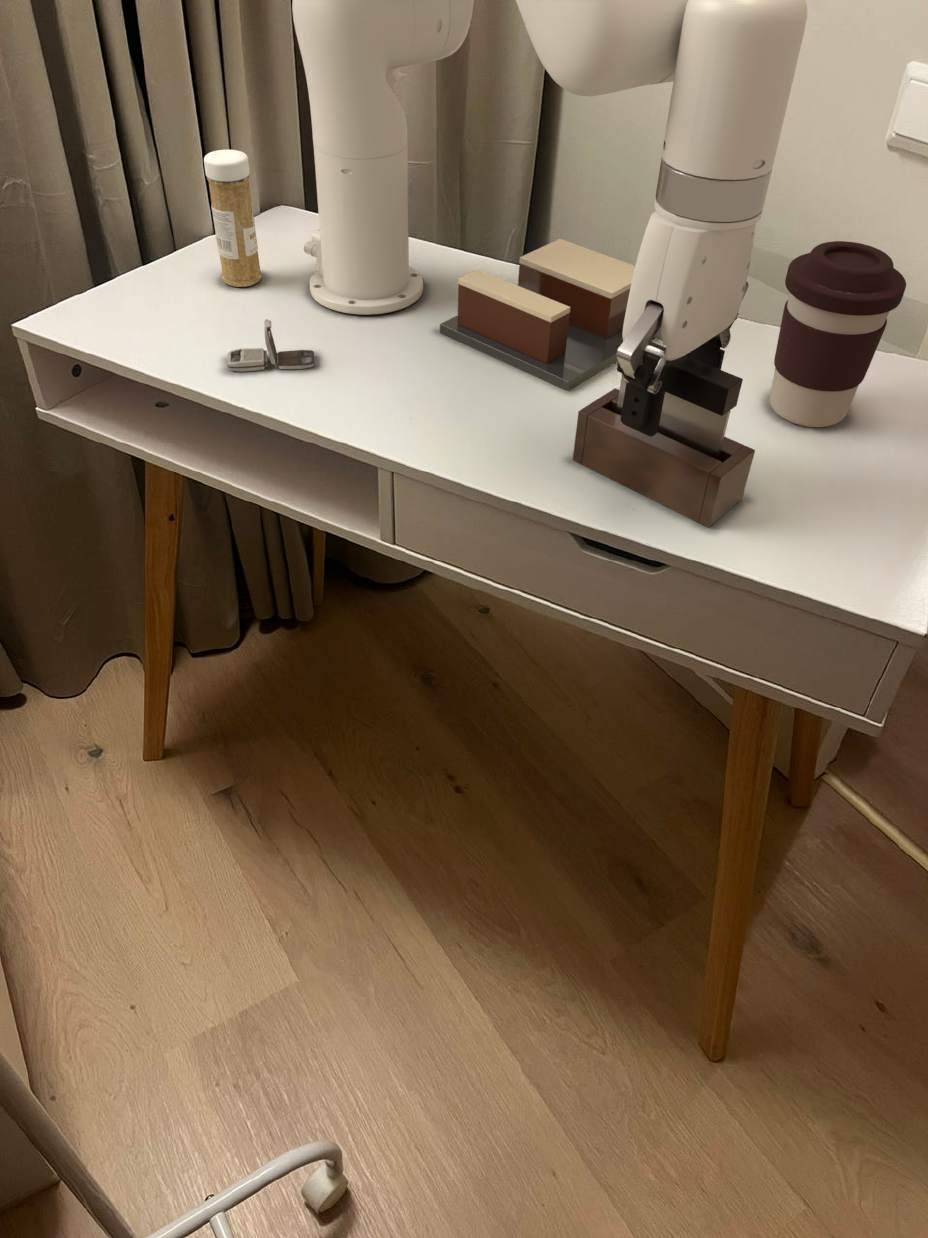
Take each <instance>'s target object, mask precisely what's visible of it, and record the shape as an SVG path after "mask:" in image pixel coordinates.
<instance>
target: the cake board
mask: <svg viewBox="0 0 928 1238" xmlns="http://www.w3.org/2000/svg"><path fill="white" fill-rule="evenodd" d="M518 262H519V266H518V279H517V286H520V287H522V288H525V289H527V290H529V291H532V292H534V293H537V294H539V295H542V296H544V297H547V298H549V299H552V300H554V301H557V302H559V303H562V304H564V305H567V306H569V307H570V316H569V325H568V334H567V344H566V353H565V354H564V355H562V356H561V357H559V358H557V359H555V360H554V361H552V362H550V363H548V364H546V363H544V362H541V361H539V360H537V359H535V358H532V357H530V356H528V355H526V354H523V353H521V352H519V351H517V350H514V349H512V348H510V347H508V346H505V345H503V344H501V343H499V342H496V341H494V340H492V339H490V338H487V337H485V336H483V335H481V334H478V333H476V332H474V331H472V330H470V329H467V328H465V327H463V326H461V325H458V324H457V322H458V314H457V315H455V316H453V317H451V318H449V319H447V320H445V321H442V322H441V323H439V333H440V334H442V335H444V336H446V337H448V338H450V339H453V340H455V341H458V342H459V343H462V344H464V345H466V346H469V347H471V348H472V349H475V350H477V351H479V352H481V353H484V354H485V355H488V356H490V357H493V358H494V359H497V360H499V361H501V362H503V363H505V364H508V365H510V366H512V367H513V368H517V369H519V370H520V371H523V372H526V374H527V373H528V374H530V375H532V376H534V377H537V378H538V379H541V380H542V381H545V382H547V383H549V384H552V385H554V386H556V387H559V388H561V389H563V390H564V391H566V392H567V391H570V390H573V389H574V388H575V387H577V386H579V385H580V384H582V383H583V382H585V381H586V380H588V379H590V378H592V377H593V376H595V375H596V374H598V373H600V372H602V371H603V370H605V369H607V368H608V367H610V366H611V365H613V364H615V363H616V362H618V359H617V356H616V354H617V351H618V349H619V347H620V346H621V344H622V343H623V337H622V333H623V325H624V319H625V313H626V308H627V303H628V298H629V293H630V288H631V284H632V279H633V275H634V270H635V266H636V265H634V264H631V263H628V262H625V261H623V260H620V259H617V258H615V257H612V256H609V255H606V254H604V253H600V252H598V251H595V250H593V249H589V248H587V247H584V246H581V245H579V244H576V243H573V242H570V241H568V240H565V239H563V238H558V239H556V240H554V241H552V242H549V243H548V244H545V245H543V246H541V247H539V248H537V249H535V250H532V251H530V252H528V253H526V254H523V255H522V256H520V257H519V261H518ZM654 339H655V338H654V337H653V339H652V341H653V340H654Z"/></svg>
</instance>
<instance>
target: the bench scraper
mask: <svg viewBox="0 0 928 1238" xmlns="http://www.w3.org/2000/svg"><path fill="white" fill-rule="evenodd" d="M650 345H653V346H655V347H658V348H660V349H663V350H665V351H666V346H664V345H660V344H659V343H656V342H653V341H651V343H650ZM659 360H660V358H658V357H656V356H654V355H651V354H649V353H648V354H647V356H646V358H645V360H644V363H643V365H646V366H647V367H648V368H649V369H650V371H651V372H652V373H654V371H655V369H656V367H657V364H658V362H659ZM616 367H617V368H616V371H617V372H618V373H620V374H621V371H620V370H621V367H620V364H619V362H618V361H617V366H616ZM742 385H743V378H742V377H739V376H737V375H734V374H732V373H730V372H727V371H724V370H722V369H721V370H720V369H717V368H715V367H712V366H710V365H707V364H705V363H703V362H700V361H698V360H695V359H693V358H690V357H688V356H685V355H684V356H682V357H680V358H678V359H675V360H673V363H672V365H671V367H670V369H669V371H668V373H667V375H666V378H665V380H664V382H663V384H662V386H661V388H660V389H662V390H665V396H664V401H663V407H662V412H661V417H660V422H659V428H658V432H657V433H660V434H662V435H664V436H666V437H668V438H671V439H673V440H675V441H677V442H679V443H682V444H684V445H686V446H688V447H690V448H693V449H695V450H697V451H699V452H701V453H704V454H706V455H708V456H710V457H712V458H714V459H717V460H719V456H720V452H721V448H722V444H723V440H724V436H725V435H726V430H727V427H728V422H729V419H730V415H731V410H734V408H736V407H737V405H738V401H739V398H740V393H741V389H742ZM625 388H626V382H624V380H623V375H622V374H621V378H620V384H619V389H618V390H619V397H618V403H617V410H616V414H618V415H620V416H621V413H622V407H623V401H624V394H625ZM725 437H726V436H725Z"/></svg>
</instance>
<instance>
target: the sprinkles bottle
mask: <svg viewBox="0 0 928 1238" xmlns="http://www.w3.org/2000/svg"><path fill="white" fill-rule="evenodd" d="M203 165H204V172H205V173H204V174H205V176H206V180H207V181H208V188H209V194H210V202H211V212H212V219H213V225H214V226H213V227H214V232H215V238H216V239H215V240H216V244H217V251H218V254H219V261H220V266H221V280H222V282H223V283H224V284H226V285H228V286H231V287H234V288H235V287H237V288H242V287H243V288H244V287H250V286H253V285H256V284H258V283H259V282H260V281H261V280H262V278H263V276H262V275H263V274H262V271H261V265H260V258H259V251H258V250H259V246H258V239H257V230H256V224H255V217H254V216H255V215H254V208H253V204H252V195H251V189H250V173H251V171H250V163H249V157H248V155H247V154H246V153H245V152H243V151H241V150H237V149H218V150H213V151H211V152H208V153H207V154H205V156H204V157H203Z"/></svg>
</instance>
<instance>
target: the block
mask: <svg viewBox="0 0 928 1238" xmlns="http://www.w3.org/2000/svg"><path fill="white" fill-rule="evenodd" d="M619 390H620V389H619V388H616V387H615V388H613V389H611V390H609V391H608V392H606V393H605V394H603V395H602V396H600V397H599V398H597V399H596V400H594V401H592V402H591V403H589V404H588V405H586V406H585V407H583V408H581V409H580V410H578V412H577V421H576V428H575V437H574V444H573V452H572V461H574V462H575V463H578V464H579V465H581V466H584V467H586V468H588V469H589V470H592V471H594V472H595V473H598V474H600V475H602V476H604V477H605V478H608V479H609V480H612V481H614V482H616V483H618V484H619V485H621V486H624V487H626V488H627V489H630V490H632V491H634V492H636V493H638V494H640V495H641V496H644V497H646V498H647V499H650V500H652V501H654V502H656V503H658V504H660V505H662V506H664V507H666V508H668V509H671V510H672V511H675V512H676V513H679V514H680V515H683V516H685V517H687V518H688V519H690V520H692V521H694V522H696V523H698V524H700V525H702V526H704V527H706V528H710V527H711V526H713V524H715V523H716V522H717V521H718V520H719V519H721V518H722V517H723V516H724V515H725V514H727V513H728V512H729V511H730V510H731V509H732V508H733V507H735V506H736V505H737V504H738V503H740V502H741V501H742V500H743V497H744V493H745V490H746V486H747V482H748V479H749V474H750V472H751V468H752V465H753V460H754V456H755V454H756V449H754V448H751V447H749V446H747V445H745V444H743V443H740V442H739V441H736V440H734V439H732V438H729V437H727V436H724V440H723V444H722V448H721V452H720V456H719V460H717V459H714V458H712V457H710V456H708V455H706V454H704V453H701V452H699V451H697V450H695V449H693V448H690V447H688V446H686V445H684V444H682V443H679V442H677V441H675V440H673V439H671V438H668V437H666V436H664V435H662V434H660V433H657V434H655V435H654V436H652V437H650V436H647V435H645V434H643V433H641V432H639V431H637V430H634V429H632V428H630V427H628V426H626V425H624V424H622V422H621V416H620V415H618V414H616V410H617V403H618V397H619Z"/></svg>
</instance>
